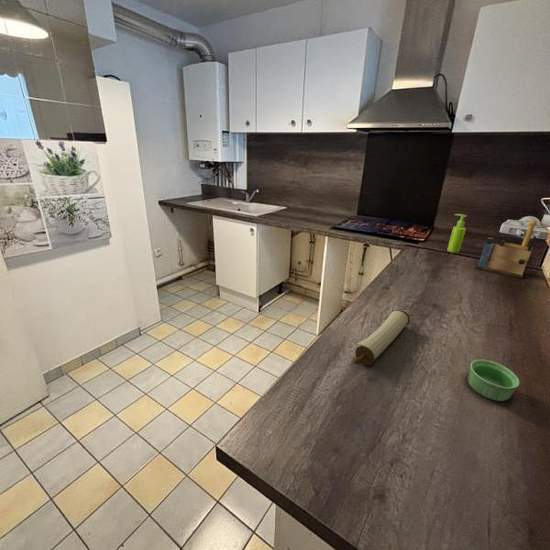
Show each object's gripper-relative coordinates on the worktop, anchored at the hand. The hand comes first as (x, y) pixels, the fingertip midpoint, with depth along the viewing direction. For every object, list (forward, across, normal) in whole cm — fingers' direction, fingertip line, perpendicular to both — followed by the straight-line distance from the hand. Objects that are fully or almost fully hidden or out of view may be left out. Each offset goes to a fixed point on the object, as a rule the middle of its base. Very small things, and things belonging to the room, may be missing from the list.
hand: (528, 235), depth 122 cm
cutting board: (-1, +5, -18) cm, 19 cm away
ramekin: (+90, +2, -19) cm, 91 cm away
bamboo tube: (+88, +27, -19) cm, 94 cm away
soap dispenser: (-21, +28, -19) cm, 39 cm away
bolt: (-1, +2, -6) cm, 7 cm away
